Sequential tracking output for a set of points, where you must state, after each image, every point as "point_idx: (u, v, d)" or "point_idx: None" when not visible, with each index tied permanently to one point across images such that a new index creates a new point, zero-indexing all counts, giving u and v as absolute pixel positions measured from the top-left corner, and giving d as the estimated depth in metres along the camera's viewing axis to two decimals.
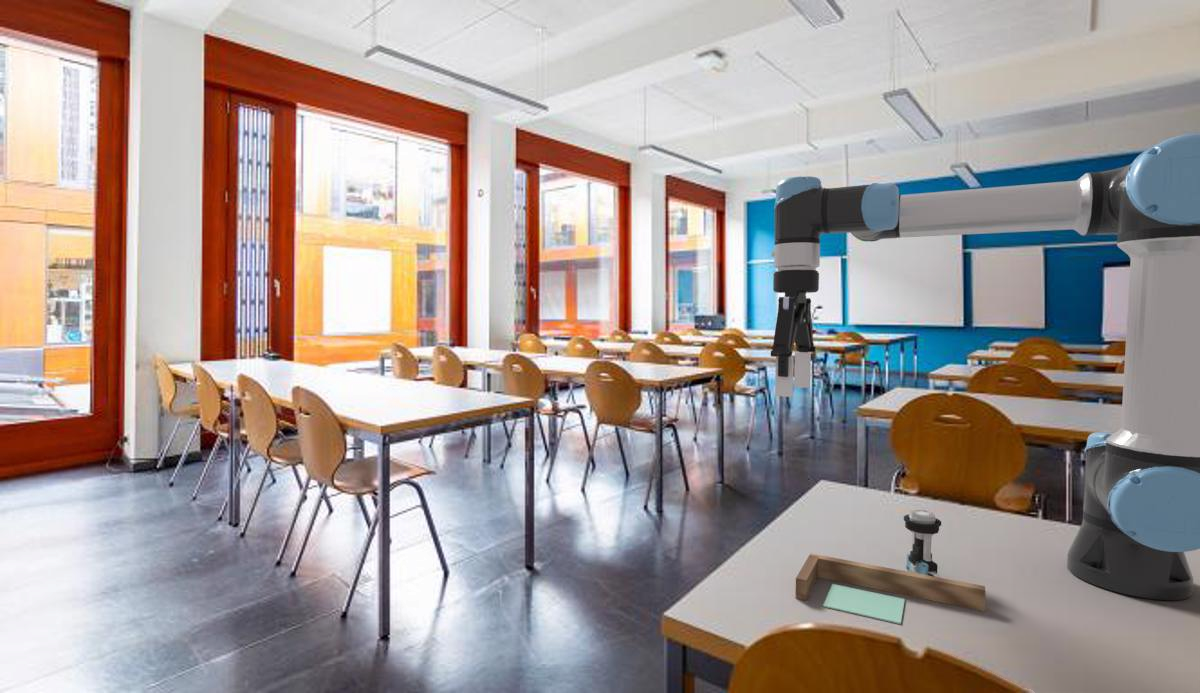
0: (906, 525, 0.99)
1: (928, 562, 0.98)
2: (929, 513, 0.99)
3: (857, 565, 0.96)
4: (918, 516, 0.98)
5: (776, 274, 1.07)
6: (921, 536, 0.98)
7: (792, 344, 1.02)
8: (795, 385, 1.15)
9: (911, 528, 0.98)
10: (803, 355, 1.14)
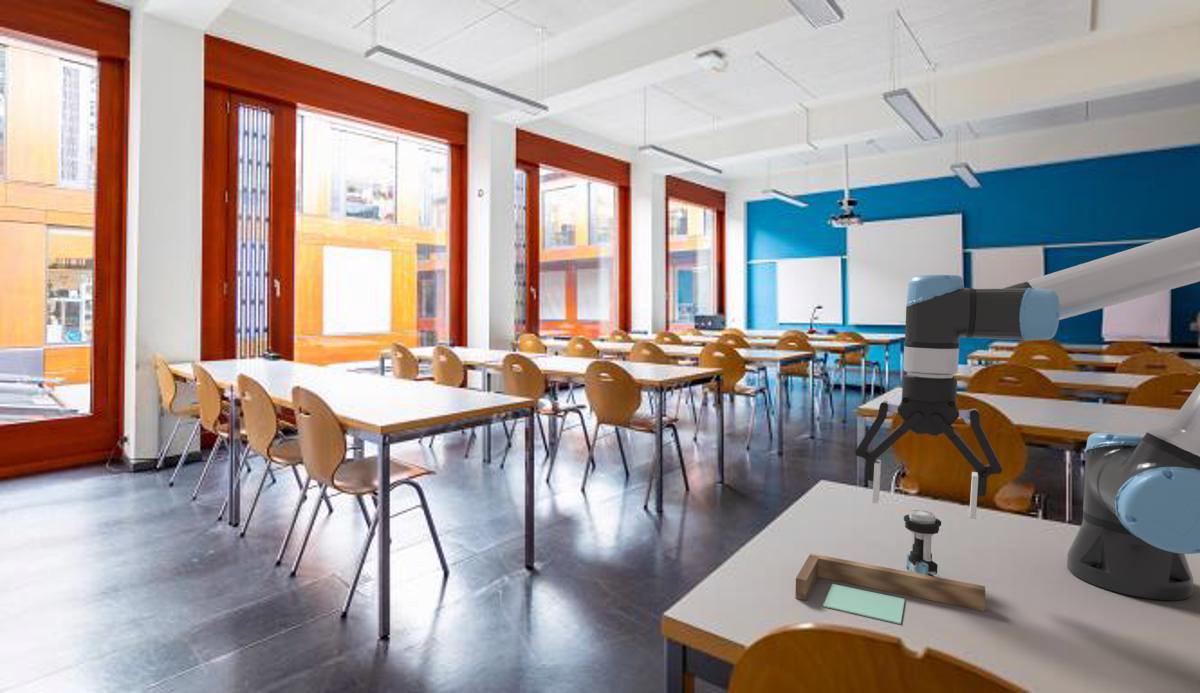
0: (906, 525, 0.99)
1: (928, 562, 0.98)
2: (929, 513, 0.99)
3: (857, 565, 0.96)
4: (918, 516, 0.98)
5: None
6: (921, 536, 0.98)
7: (878, 450, 1.00)
8: None
9: (911, 528, 0.98)
10: None
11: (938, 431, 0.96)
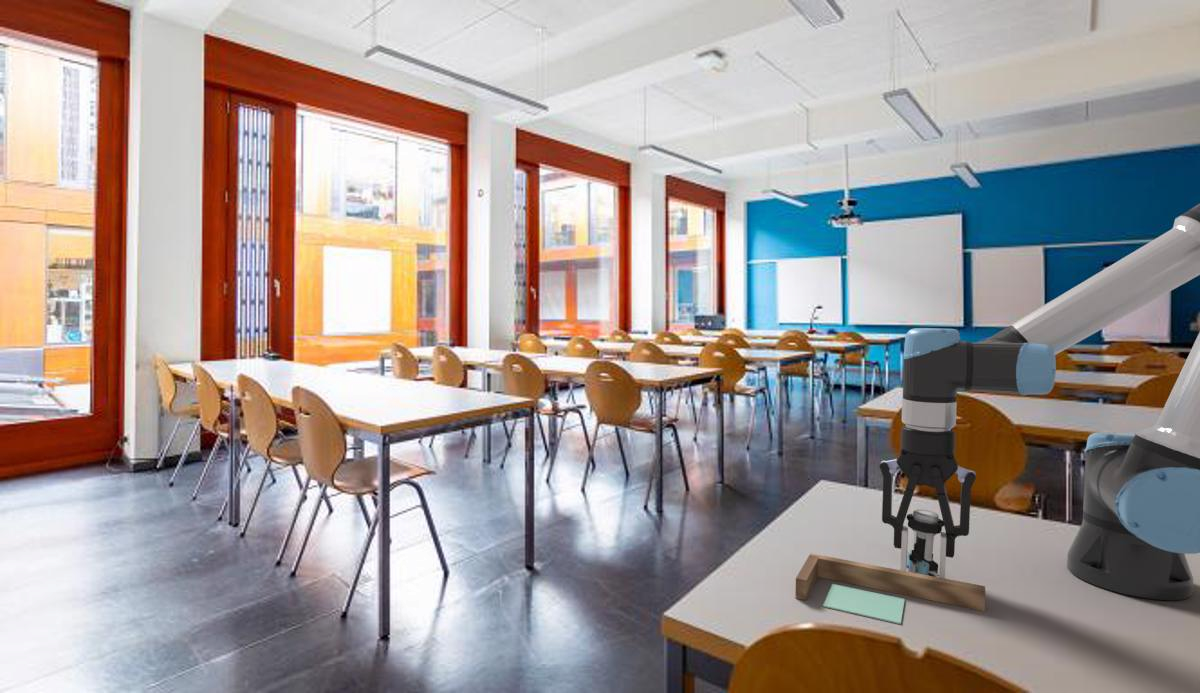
0: (909, 524, 0.99)
1: (929, 562, 0.98)
2: (932, 513, 0.99)
3: (857, 565, 0.96)
4: (921, 515, 0.98)
5: None
6: (923, 536, 0.98)
7: (900, 515, 0.99)
8: None
9: (914, 527, 0.98)
10: None
11: None
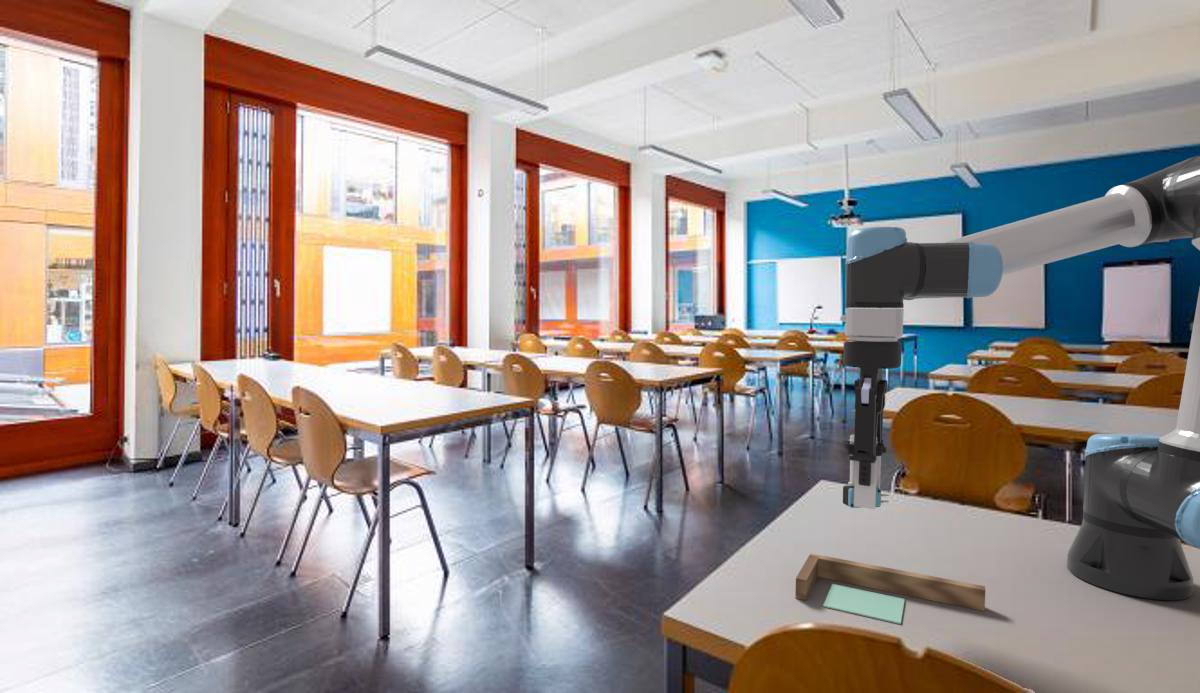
0: None
1: None
2: None
3: (857, 565, 0.96)
4: None
5: (849, 345, 0.87)
6: None
7: (875, 445, 0.85)
8: None
9: (876, 453, 0.87)
10: None
11: None
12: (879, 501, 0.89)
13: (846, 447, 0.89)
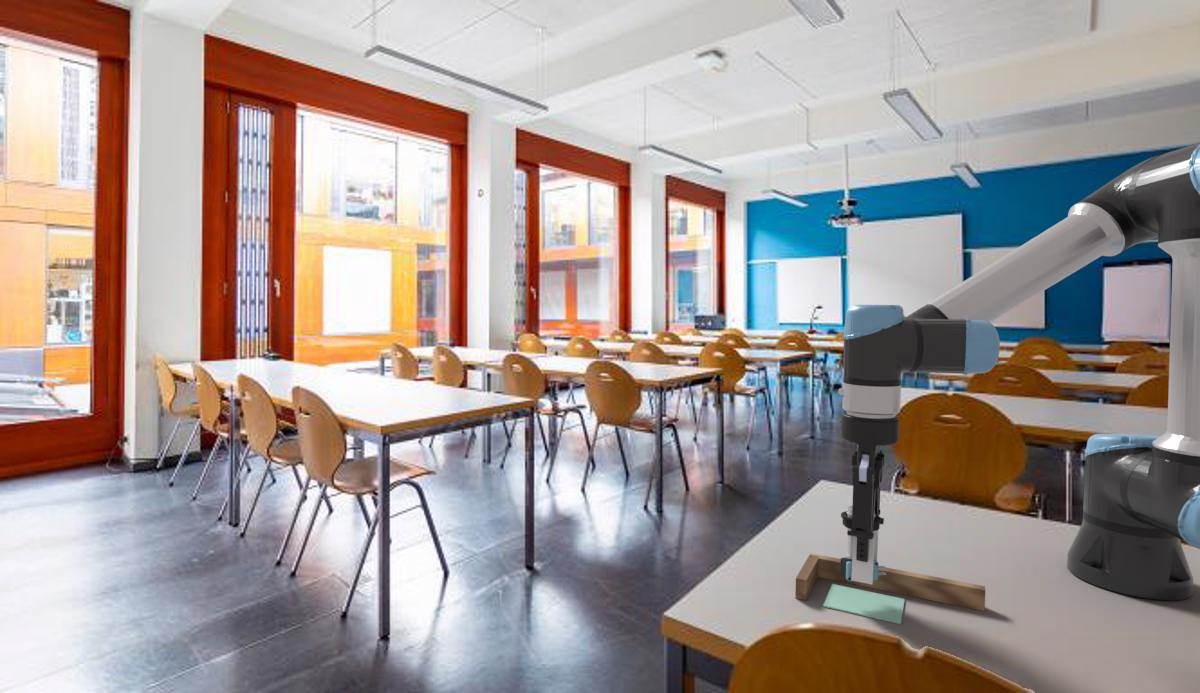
0: None
1: None
2: None
3: None
4: None
5: (846, 420, 0.87)
6: None
7: (873, 521, 0.85)
8: None
9: (873, 528, 0.87)
10: None
11: None
12: (876, 574, 0.89)
13: (844, 520, 0.90)
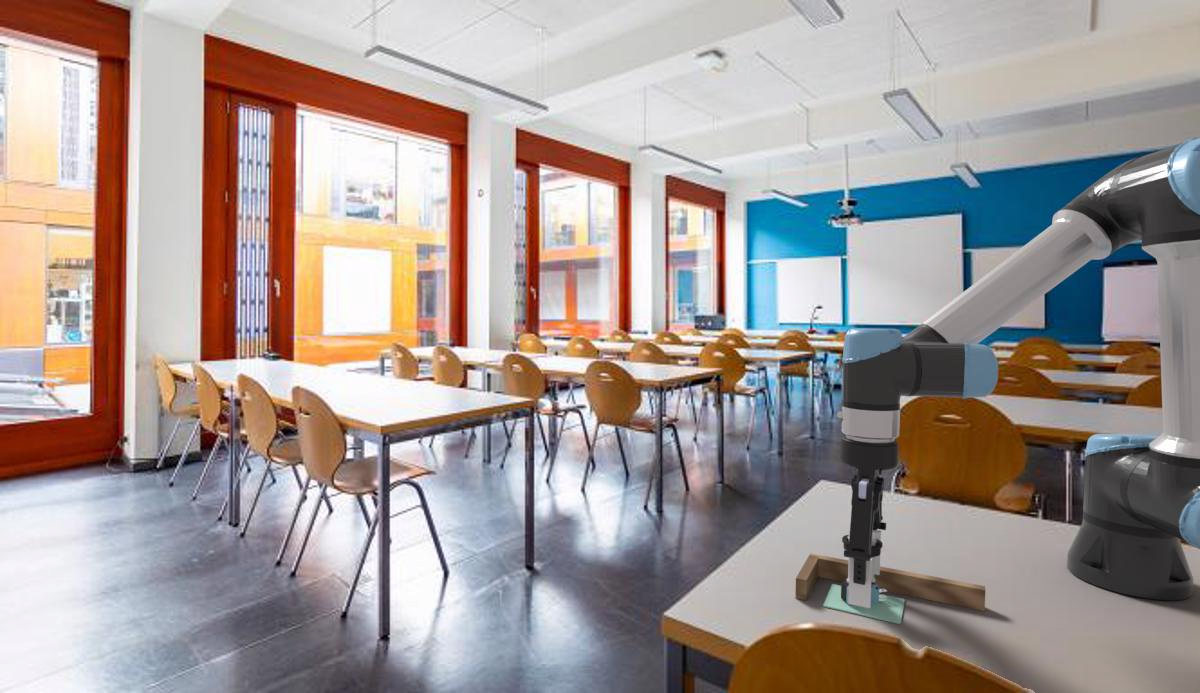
0: None
1: None
2: None
3: None
4: (874, 538, 0.88)
5: (846, 444, 0.87)
6: None
7: (870, 542, 0.83)
8: None
9: (874, 554, 0.87)
10: None
11: None
12: (877, 598, 0.89)
13: (845, 544, 0.89)
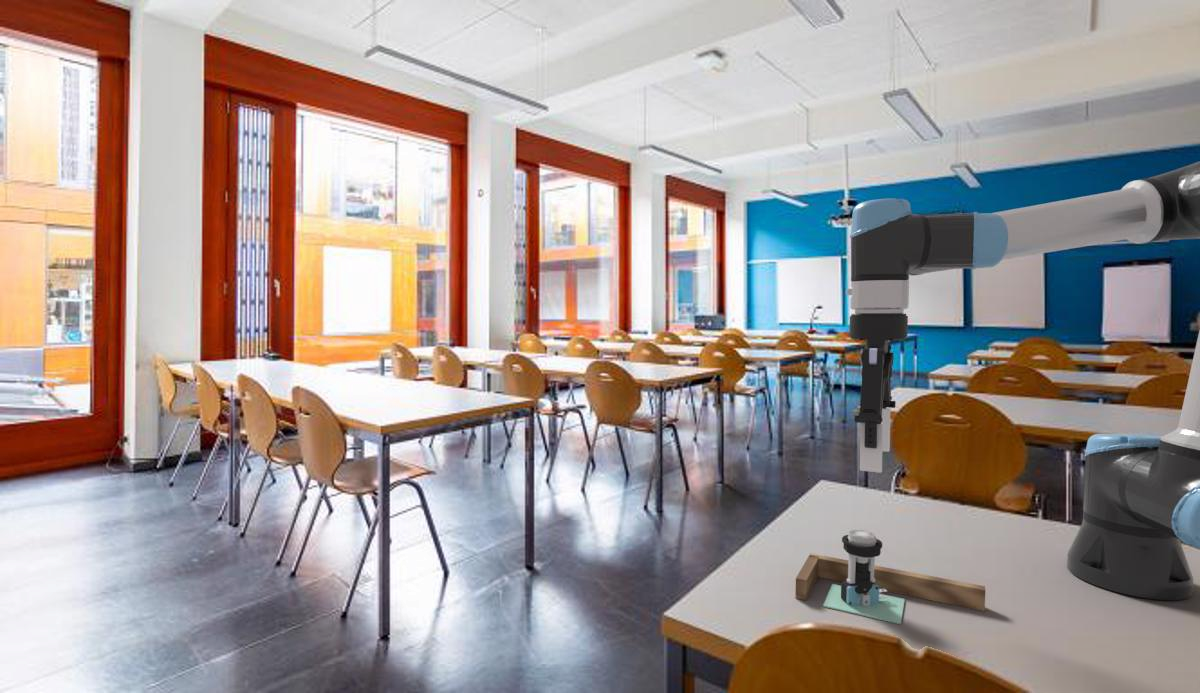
0: (868, 554, 0.87)
1: None
2: (859, 531, 0.90)
3: None
4: (873, 538, 0.88)
5: (855, 318, 0.87)
6: (867, 559, 0.89)
7: (881, 407, 0.82)
8: None
9: (874, 554, 0.87)
10: (881, 412, 0.94)
11: None
12: (877, 598, 0.89)
13: (845, 544, 0.89)
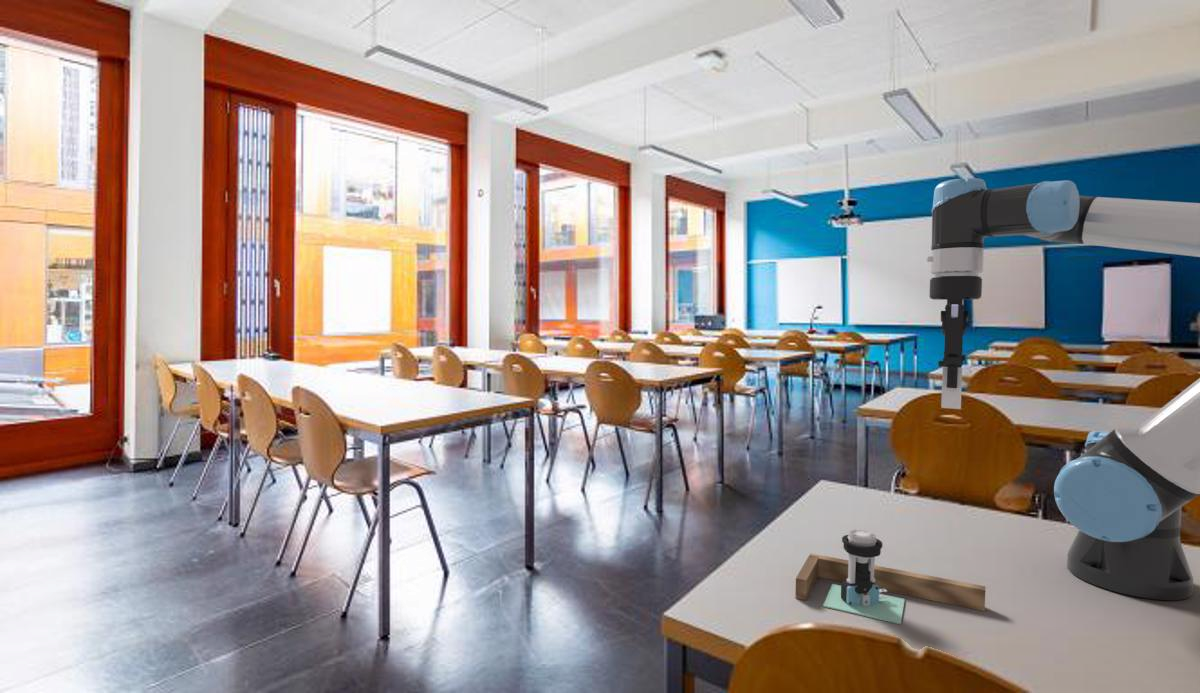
0: (868, 554, 0.87)
1: None
2: (859, 531, 0.90)
3: None
4: (873, 538, 0.88)
5: (936, 280, 1.02)
6: (867, 559, 0.89)
7: None
8: None
9: (874, 554, 0.87)
10: None
11: None
12: (877, 598, 0.89)
13: (845, 544, 0.89)
